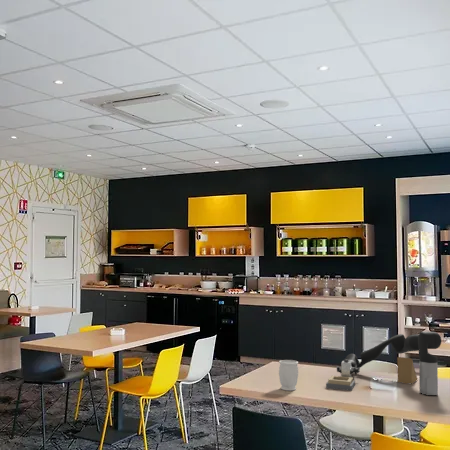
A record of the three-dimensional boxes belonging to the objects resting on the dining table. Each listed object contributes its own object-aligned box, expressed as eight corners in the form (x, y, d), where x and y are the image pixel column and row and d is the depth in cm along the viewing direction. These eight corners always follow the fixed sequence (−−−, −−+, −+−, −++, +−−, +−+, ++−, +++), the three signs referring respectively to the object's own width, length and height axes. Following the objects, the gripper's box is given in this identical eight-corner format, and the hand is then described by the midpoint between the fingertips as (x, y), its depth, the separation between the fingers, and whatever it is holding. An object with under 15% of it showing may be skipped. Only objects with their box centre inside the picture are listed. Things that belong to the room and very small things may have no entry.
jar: (275, 389, 291) (276, 361, 292) (282, 386, 300) (283, 358, 302) (294, 392, 286) (294, 363, 287) (300, 388, 296) (301, 360, 297)
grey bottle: (351, 382, 314) (351, 359, 315) (350, 384, 309) (350, 360, 310) (342, 381, 316) (342, 358, 316) (341, 383, 311) (341, 360, 312)
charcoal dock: (354, 385, 306) (355, 377, 306) (351, 390, 293) (351, 382, 293) (330, 382, 311) (330, 375, 311) (326, 388, 298) (326, 379, 298)
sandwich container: (418, 380, 326) (418, 355, 327) (412, 384, 313) (412, 358, 314) (404, 378, 330) (404, 353, 331) (397, 382, 317) (397, 356, 318)
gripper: (337, 359, 329) (333, 364, 313) (361, 361, 324) (358, 366, 308) (337, 372, 328) (333, 377, 313) (361, 374, 323) (358, 379, 308)
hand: (345, 372), depth 310 cm, fingers closed on grey bottle, 5 cm apart
